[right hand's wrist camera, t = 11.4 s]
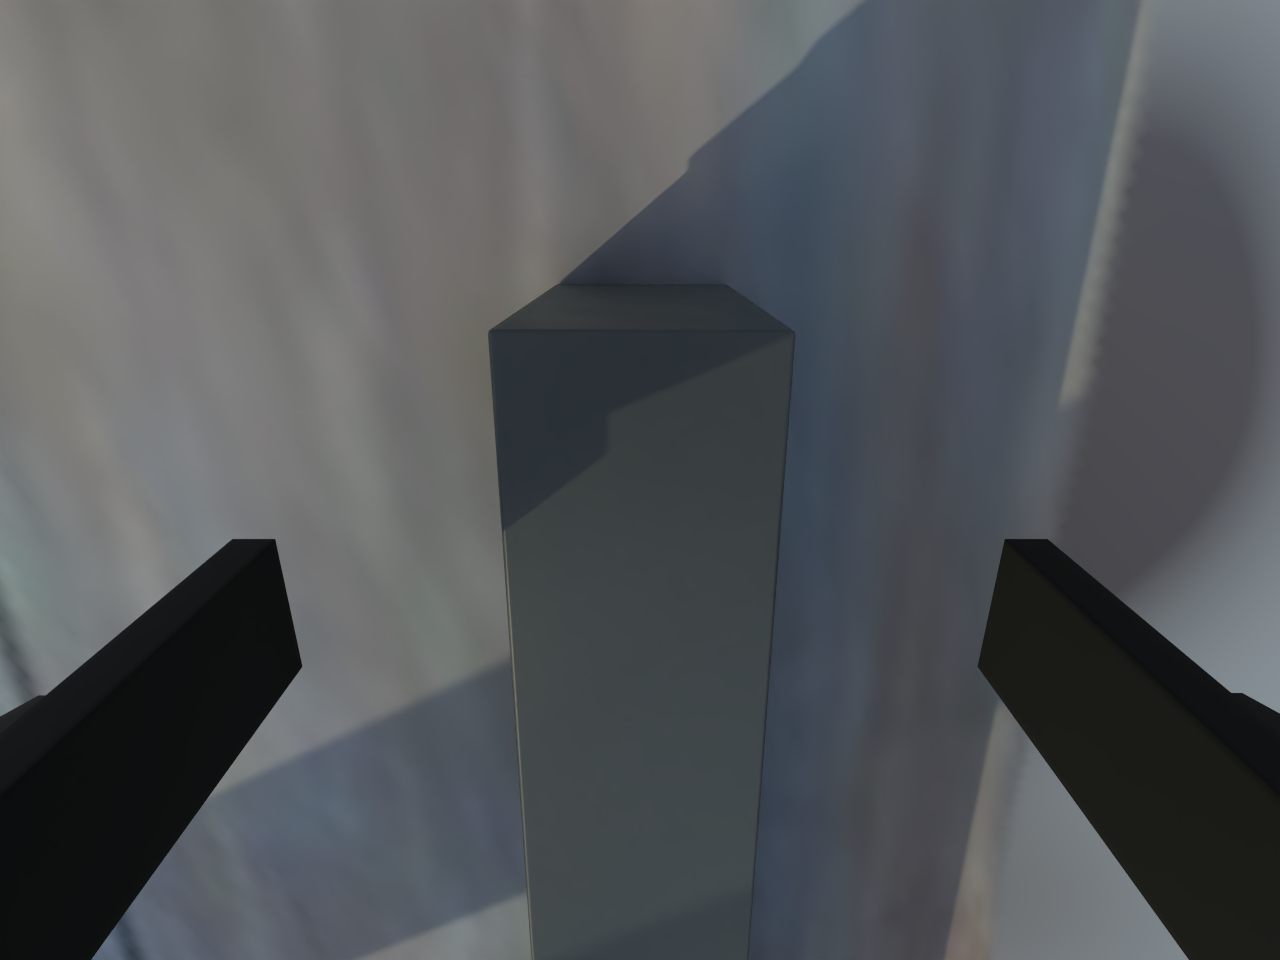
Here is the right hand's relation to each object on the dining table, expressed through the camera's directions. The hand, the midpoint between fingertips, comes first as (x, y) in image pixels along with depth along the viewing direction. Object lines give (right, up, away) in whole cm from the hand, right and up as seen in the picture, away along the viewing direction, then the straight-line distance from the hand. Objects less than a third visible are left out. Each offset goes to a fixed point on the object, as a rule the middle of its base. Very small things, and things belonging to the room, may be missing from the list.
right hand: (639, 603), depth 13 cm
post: (0, -32, +19) cm, 37 cm away
